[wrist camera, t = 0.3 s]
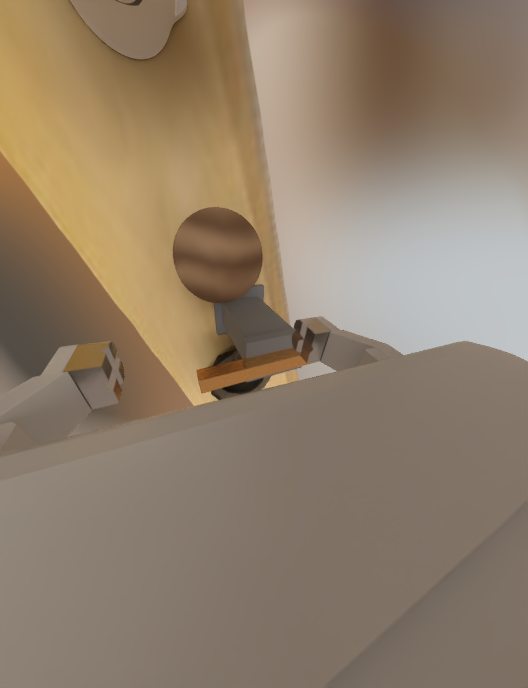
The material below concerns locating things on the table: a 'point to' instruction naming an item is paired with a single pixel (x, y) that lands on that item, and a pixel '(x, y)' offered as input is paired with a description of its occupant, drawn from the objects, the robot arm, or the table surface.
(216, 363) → the stone bowl
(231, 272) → the disc
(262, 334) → the charcoal stand
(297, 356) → the orange bar
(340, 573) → the robot arm
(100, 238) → the table surface
